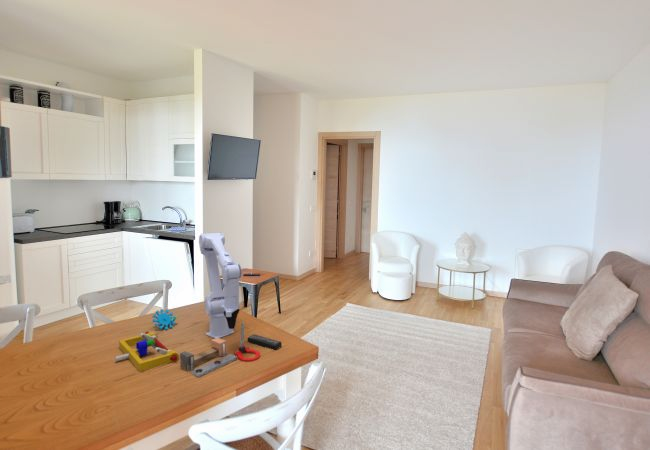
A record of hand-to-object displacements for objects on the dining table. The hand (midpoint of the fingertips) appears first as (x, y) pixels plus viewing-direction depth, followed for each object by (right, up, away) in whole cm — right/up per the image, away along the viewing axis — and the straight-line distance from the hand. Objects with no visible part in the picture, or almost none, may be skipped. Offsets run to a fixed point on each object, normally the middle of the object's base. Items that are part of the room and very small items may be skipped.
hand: (231, 328), depth 157 cm
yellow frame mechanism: (-33, -9, -6) cm, 35 cm away
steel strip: (-3, -10, -14) cm, 17 cm away
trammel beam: (-8, -10, -10) cm, 16 cm away
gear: (-35, -5, +20) cm, 41 cm away
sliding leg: (-4, -9, -4) cm, 11 cm away
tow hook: (+8, -10, -5) cm, 13 cm away
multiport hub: (+12, -9, +6) cm, 16 cm away
